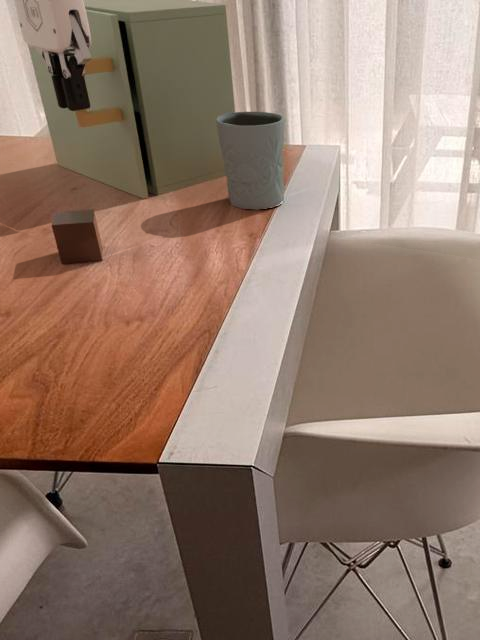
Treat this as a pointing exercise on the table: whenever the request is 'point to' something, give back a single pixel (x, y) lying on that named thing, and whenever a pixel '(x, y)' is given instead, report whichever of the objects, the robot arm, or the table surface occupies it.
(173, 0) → the cupboard
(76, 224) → the walnut block
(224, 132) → the grey green cup
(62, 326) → the table surface
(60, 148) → the cupboard door
